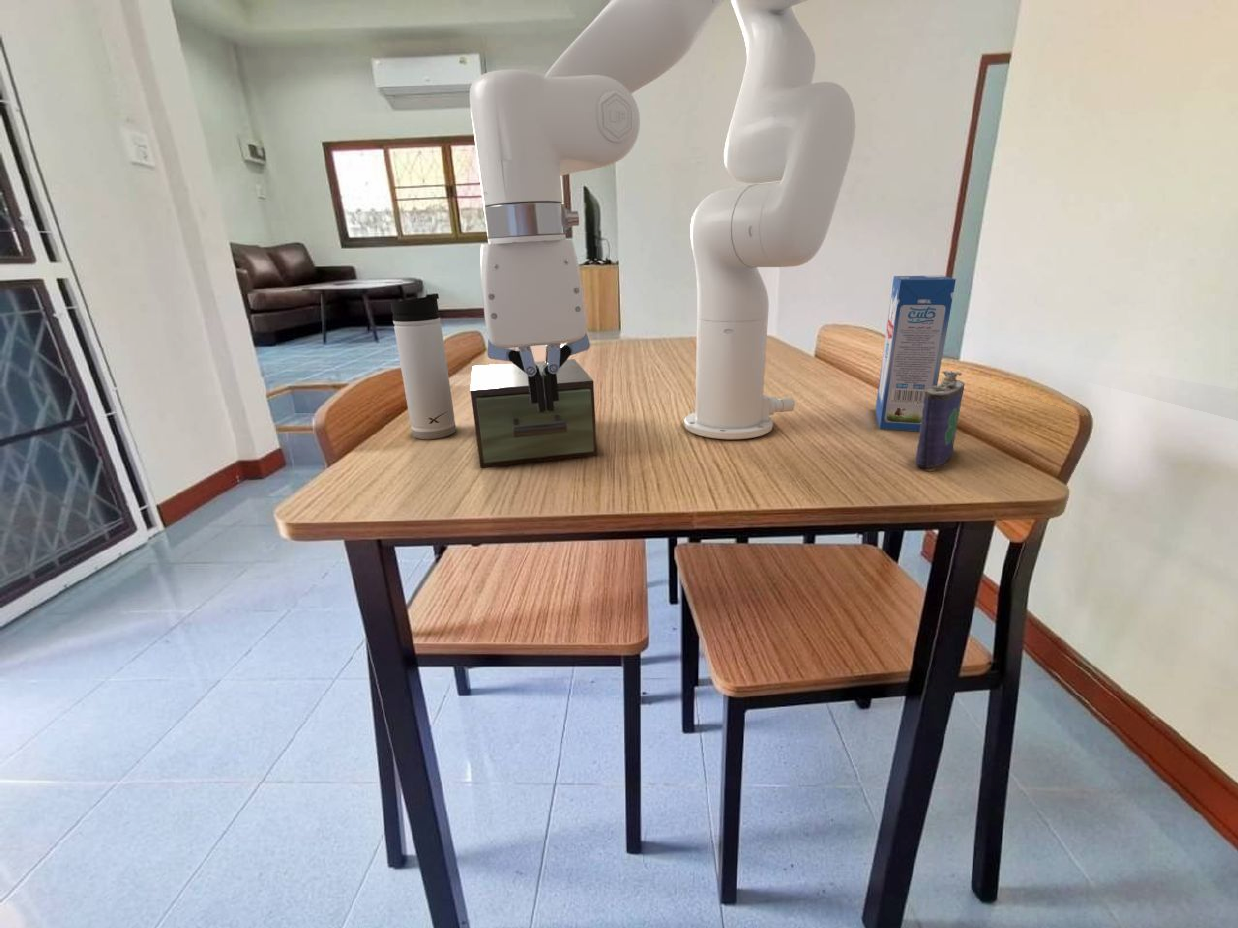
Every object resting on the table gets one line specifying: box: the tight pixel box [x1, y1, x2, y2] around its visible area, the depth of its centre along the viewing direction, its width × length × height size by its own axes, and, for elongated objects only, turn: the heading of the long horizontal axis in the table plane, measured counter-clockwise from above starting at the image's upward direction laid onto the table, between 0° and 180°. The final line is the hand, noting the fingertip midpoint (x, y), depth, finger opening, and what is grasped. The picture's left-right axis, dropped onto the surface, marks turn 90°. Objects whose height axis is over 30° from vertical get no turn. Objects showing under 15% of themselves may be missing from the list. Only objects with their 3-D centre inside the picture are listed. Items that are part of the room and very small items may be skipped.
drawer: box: [476, 389, 594, 463], centre depth 73 cm, size 20×14×8 cm
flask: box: [913, 370, 965, 472], centre depth 65 cm, size 9×3×11 cm, turn 138°
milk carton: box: [875, 274, 957, 432], centre depth 79 cm, size 10×6×20 cm, turn 160°
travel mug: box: [390, 292, 457, 440], centre depth 80 cm, size 6×7×20 cm
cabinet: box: [469, 358, 598, 468], centre depth 76 cm, size 16×15×10 cm
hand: (545, 408), depth 61 cm, fingers closed
